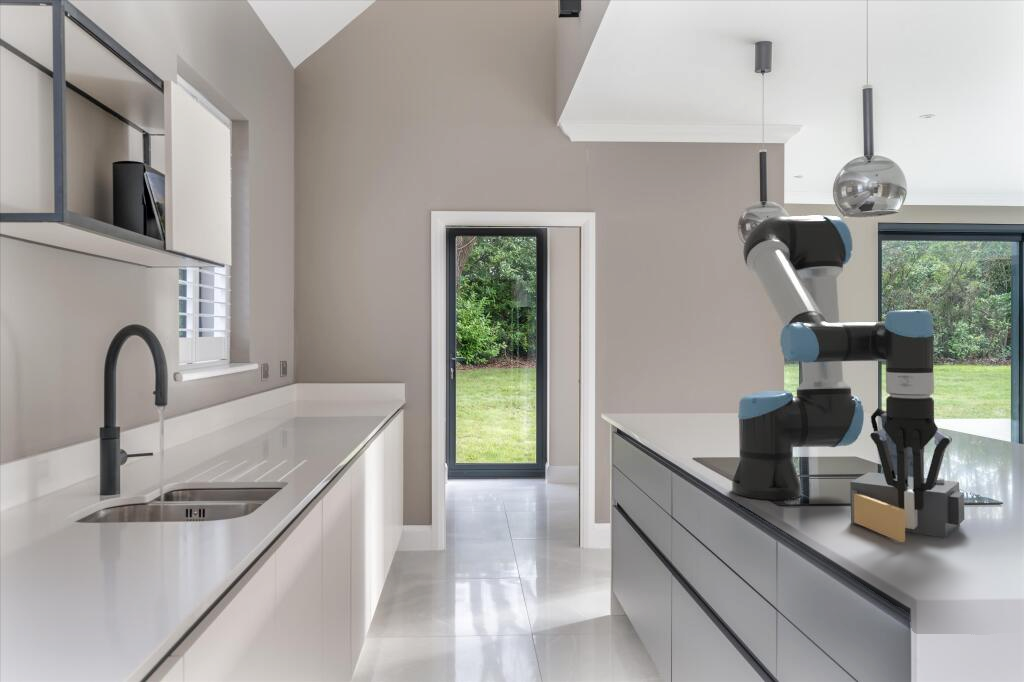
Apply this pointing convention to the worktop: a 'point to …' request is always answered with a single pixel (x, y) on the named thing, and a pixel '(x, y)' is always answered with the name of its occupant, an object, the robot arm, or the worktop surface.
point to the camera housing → (939, 502)
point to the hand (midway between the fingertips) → (911, 526)
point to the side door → (878, 516)
